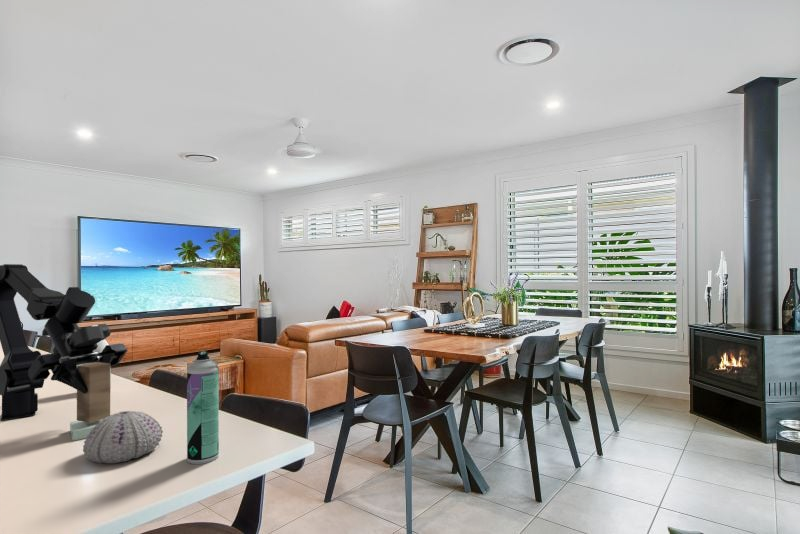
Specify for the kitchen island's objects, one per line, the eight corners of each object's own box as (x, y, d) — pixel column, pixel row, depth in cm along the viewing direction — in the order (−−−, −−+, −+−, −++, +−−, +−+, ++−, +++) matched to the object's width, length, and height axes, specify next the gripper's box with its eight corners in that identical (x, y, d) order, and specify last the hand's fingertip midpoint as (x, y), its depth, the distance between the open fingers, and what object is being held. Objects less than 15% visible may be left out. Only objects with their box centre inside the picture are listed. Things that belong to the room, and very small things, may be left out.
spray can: (209, 450, 89) (209, 348, 89) (224, 457, 85) (223, 351, 86) (181, 459, 84) (181, 352, 85) (195, 466, 81) (195, 355, 81)
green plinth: (73, 440, 95) (73, 431, 95) (70, 430, 101) (70, 421, 101) (117, 431, 100) (117, 422, 100) (112, 423, 106) (112, 414, 106)
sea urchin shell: (177, 444, 92) (177, 405, 93) (120, 472, 79) (120, 426, 80) (126, 438, 96) (126, 401, 96) (63, 464, 83) (63, 421, 83)
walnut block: (76, 420, 99) (77, 365, 100) (97, 414, 103) (97, 362, 104) (89, 422, 97) (89, 367, 98) (110, 416, 102) (110, 363, 102)
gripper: (36, 317, 94) (68, 374, 89) (122, 310, 111) (153, 358, 106) (14, 352, 97) (44, 409, 92) (102, 340, 114) (131, 388, 109)
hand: (97, 389), depth 100 cm, fingers closed on walnut block, 4 cm apart
